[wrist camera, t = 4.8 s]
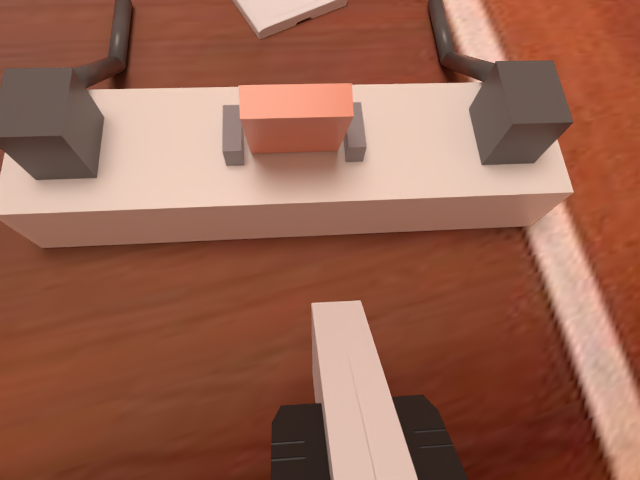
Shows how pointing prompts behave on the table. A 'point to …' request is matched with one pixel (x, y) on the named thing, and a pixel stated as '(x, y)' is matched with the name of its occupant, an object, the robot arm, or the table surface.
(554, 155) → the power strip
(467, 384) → the table surface
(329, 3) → the external hard drive
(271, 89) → the block
